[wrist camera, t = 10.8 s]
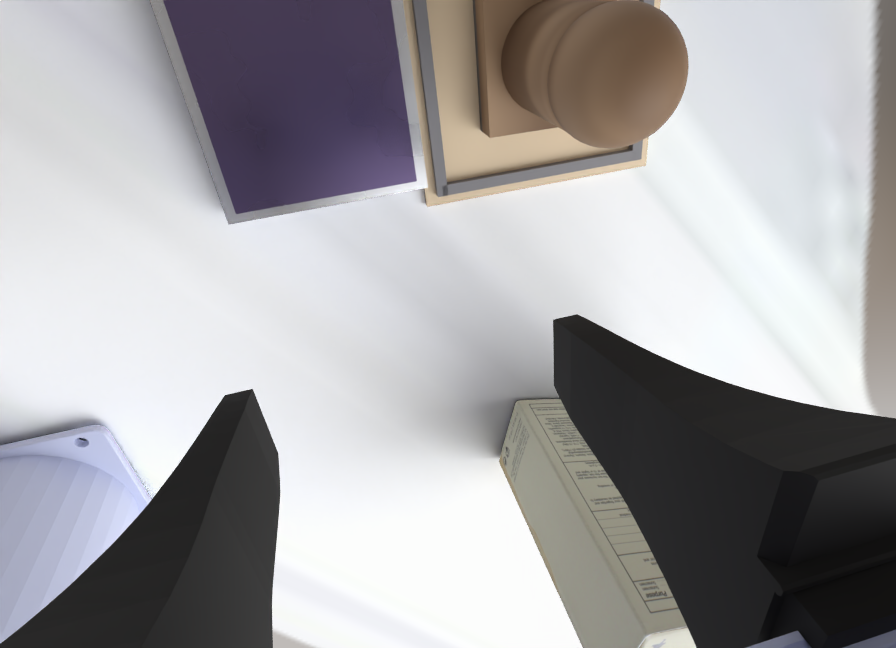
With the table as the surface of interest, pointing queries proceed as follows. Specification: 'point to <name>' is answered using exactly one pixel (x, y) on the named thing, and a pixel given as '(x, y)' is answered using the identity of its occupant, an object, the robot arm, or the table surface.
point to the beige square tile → (458, 120)
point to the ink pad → (297, 100)
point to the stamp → (577, 68)
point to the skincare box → (587, 535)
